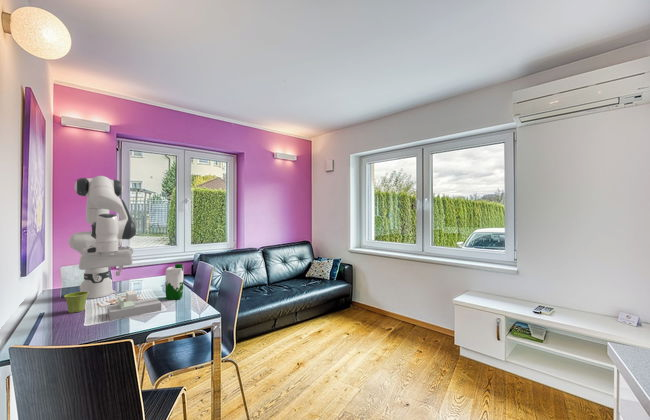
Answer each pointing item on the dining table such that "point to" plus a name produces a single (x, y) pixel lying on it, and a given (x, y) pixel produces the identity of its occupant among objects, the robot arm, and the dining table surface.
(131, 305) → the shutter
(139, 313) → the socket
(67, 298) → the plant pot
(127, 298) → the plug
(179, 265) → the milk carton
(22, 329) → the dining table surface
